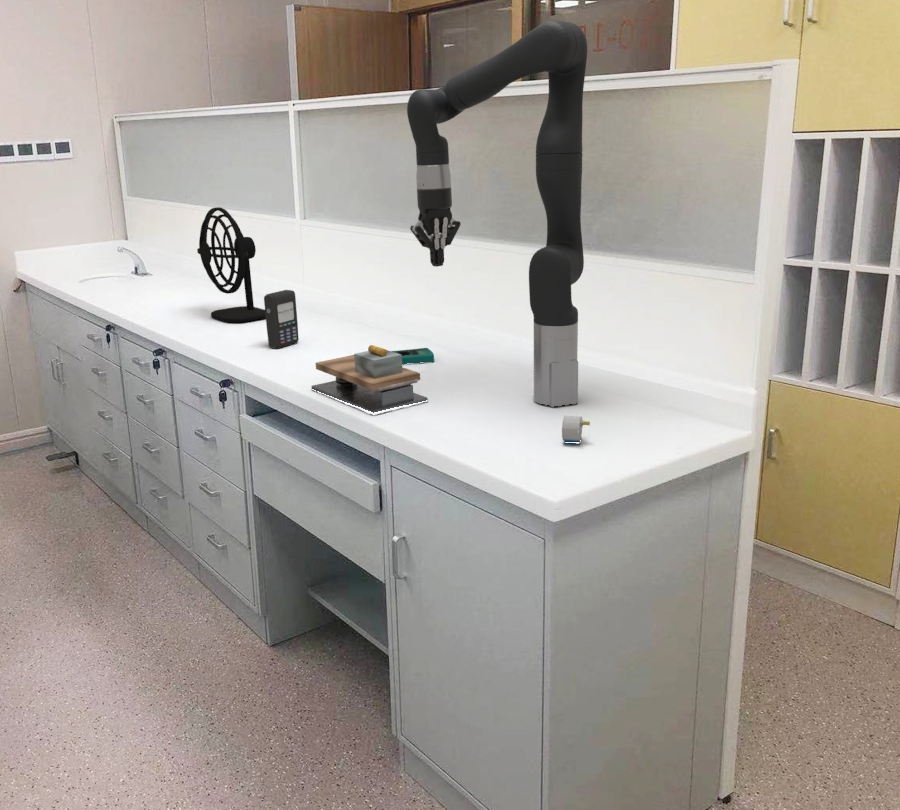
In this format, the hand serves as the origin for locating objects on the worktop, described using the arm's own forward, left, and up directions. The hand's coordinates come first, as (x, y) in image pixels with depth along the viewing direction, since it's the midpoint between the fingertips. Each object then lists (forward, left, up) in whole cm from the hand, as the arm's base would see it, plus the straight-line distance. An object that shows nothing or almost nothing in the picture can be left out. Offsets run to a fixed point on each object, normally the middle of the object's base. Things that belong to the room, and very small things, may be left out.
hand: (437, 265), depth 199 cm
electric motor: (-49, -10, -28) cm, 57 cm away
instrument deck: (-3, +18, -23) cm, 29 cm away
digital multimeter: (+23, +2, -28) cm, 36 cm away
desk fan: (+100, +34, -28) cm, 110 cm away
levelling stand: (-3, +18, -27) cm, 33 cm away
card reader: (+54, +27, -27) cm, 67 cm away
